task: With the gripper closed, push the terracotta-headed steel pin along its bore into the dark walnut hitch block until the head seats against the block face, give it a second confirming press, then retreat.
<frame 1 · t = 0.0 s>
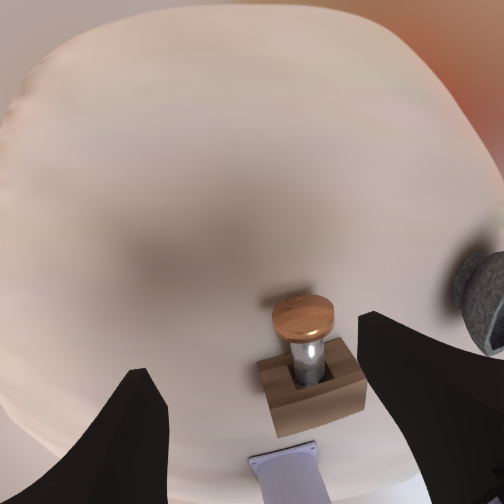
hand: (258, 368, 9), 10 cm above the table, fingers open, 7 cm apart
mortar and pestle: (472, 272, 23), on the table
hitch block: (302, 367, 23), on the table
pin: (307, 347, 18), point 3 cm above the table, slide at 0.0 cm
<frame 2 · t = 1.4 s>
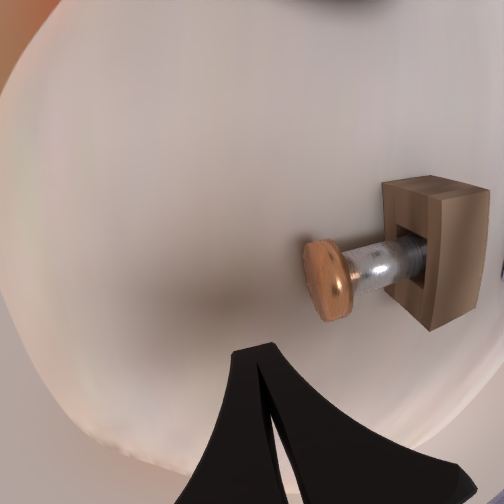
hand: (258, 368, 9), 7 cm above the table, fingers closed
hitch block: (409, 233, 16), on the table
pin: (371, 267, 14), point 3 cm above the table, slide at 0.0 cm
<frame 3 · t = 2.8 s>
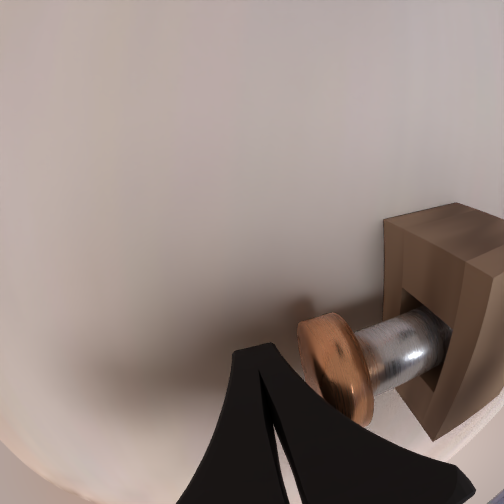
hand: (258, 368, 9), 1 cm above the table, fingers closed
hitch block: (420, 290, 11), on the table
pin: (400, 349, 8), point 3 cm above the table, slide at 1.7 cm, touching gripper
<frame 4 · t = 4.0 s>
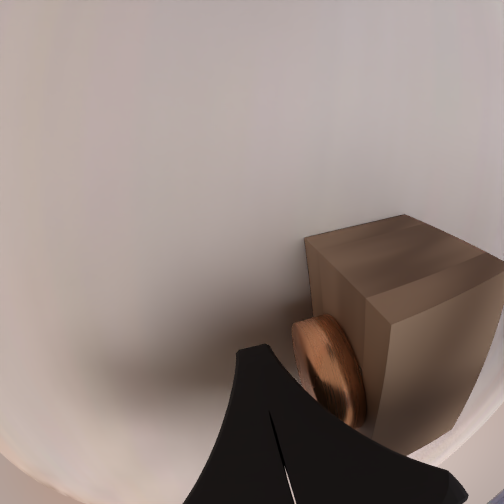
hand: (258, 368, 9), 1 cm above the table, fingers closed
hitch block: (361, 311, 11), on the table
pin: (395, 350, 8), point 3 cm above the table, slide at 4.5 cm, touching gripper
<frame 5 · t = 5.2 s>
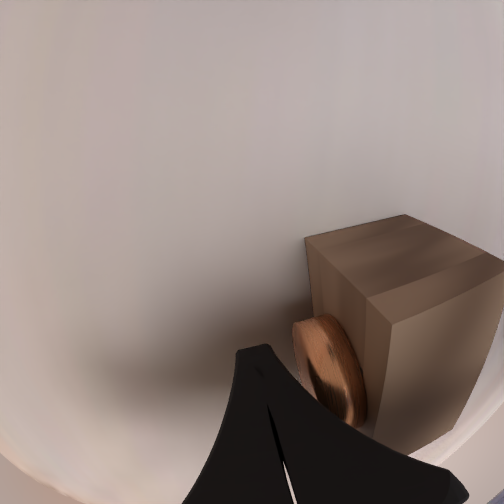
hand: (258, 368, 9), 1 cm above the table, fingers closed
hitch block: (362, 311, 11), on the table
pin: (395, 350, 8), point 3 cm above the table, slide at 4.5 cm, touching gripper
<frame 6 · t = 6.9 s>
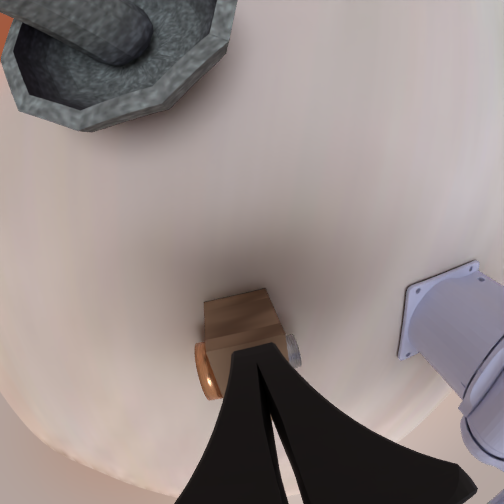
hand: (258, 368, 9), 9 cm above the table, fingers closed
mortar and pestle: (131, 53, 13), on the table
hitch block: (245, 337, 20), on the table
pin: (249, 362, 17), point 3 cm above the table, slide at 4.4 cm
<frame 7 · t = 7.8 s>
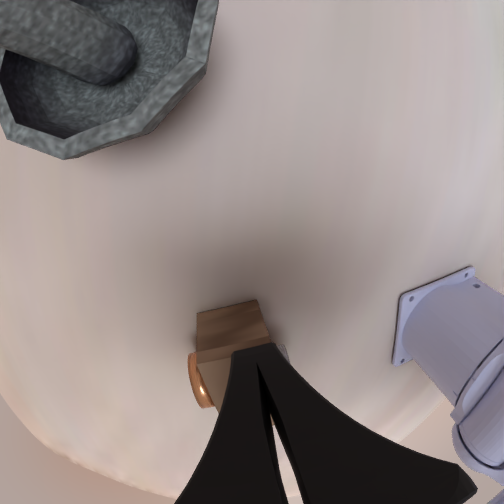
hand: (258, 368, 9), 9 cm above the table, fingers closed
mortar and pestle: (119, 69, 13), on the table
hitch block: (238, 347, 20), on the table
pin: (241, 371, 18), point 3 cm above the table, slide at 4.4 cm
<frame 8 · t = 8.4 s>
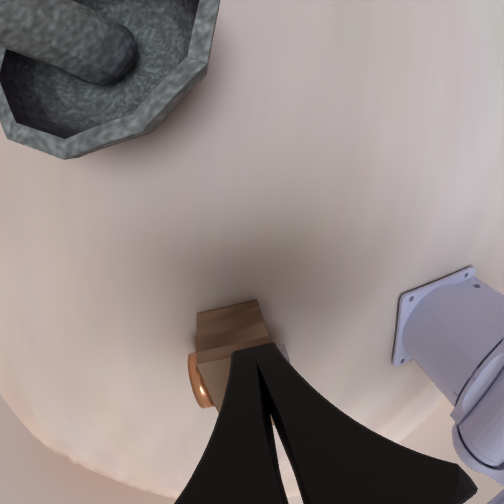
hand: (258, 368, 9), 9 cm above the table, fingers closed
mortar and pestle: (119, 69, 13), on the table
hitch block: (238, 347, 20), on the table
pin: (241, 371, 18), point 3 cm above the table, slide at 4.4 cm
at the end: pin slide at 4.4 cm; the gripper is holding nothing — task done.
